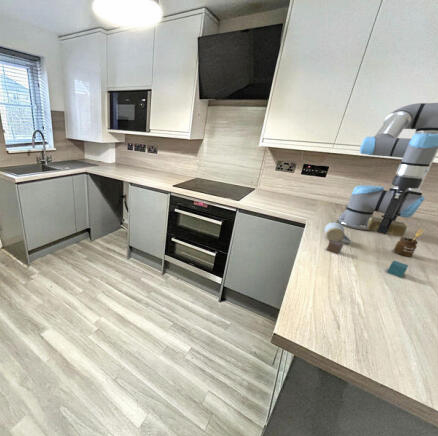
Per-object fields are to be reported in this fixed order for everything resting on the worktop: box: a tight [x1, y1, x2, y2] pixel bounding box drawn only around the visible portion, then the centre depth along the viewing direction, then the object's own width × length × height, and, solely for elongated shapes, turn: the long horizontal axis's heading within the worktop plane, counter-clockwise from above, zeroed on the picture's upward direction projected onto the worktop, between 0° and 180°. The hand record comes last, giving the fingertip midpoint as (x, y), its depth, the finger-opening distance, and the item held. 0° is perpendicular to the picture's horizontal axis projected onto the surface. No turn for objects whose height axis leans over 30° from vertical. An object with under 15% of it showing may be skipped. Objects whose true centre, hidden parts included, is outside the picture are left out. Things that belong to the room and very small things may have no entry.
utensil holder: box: [393, 228, 425, 257], centre depth 102 cm, size 6×6×12 cm
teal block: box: [386, 260, 410, 278], centre depth 88 cm, size 4×4×4 cm
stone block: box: [367, 216, 408, 238], centre depth 97 cm, size 6×12×5 cm, turn 53°
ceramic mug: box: [324, 221, 352, 244], centre depth 113 cm, size 11×8×8 cm
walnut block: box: [326, 240, 344, 254], centre depth 103 cm, size 4×4×4 cm
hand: (384, 231), depth 98 cm, fingers closed on stone block, 7 cm apart
